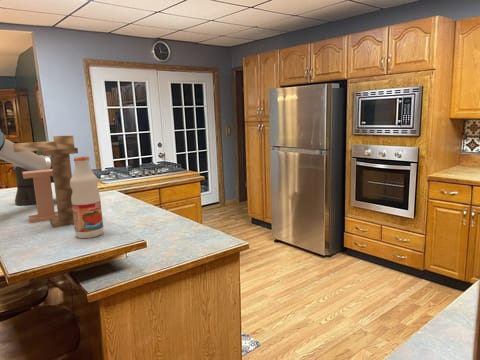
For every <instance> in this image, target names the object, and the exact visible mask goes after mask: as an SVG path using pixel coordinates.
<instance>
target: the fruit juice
mask: <svg viewBox="0 0 480 360" xmlns="http://www.w3.org/2000/svg"><path fill="white" fill-rule="evenodd" d="M73 161H74V164H75V165H74V170H73V173H72V177H71V179H70V187H71V189H72V196H71V201H72V209H73V218H74V224H73V225H74V233H75V237H77V238H79V239H89V238H90V239H91V238H95V237H99V236H101V235H102V234H103V233H104V222H103V211H102V203H101V195H100V192H99V190H98V187H99V180H98V177H97V176H96V175H95V173H94V172H93V170H92V168H91V166H90V156H87V155H85V156H76V157H73Z"/></svg>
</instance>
